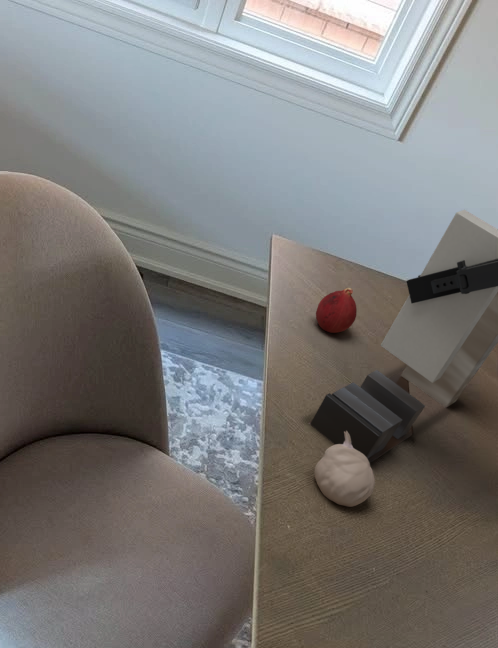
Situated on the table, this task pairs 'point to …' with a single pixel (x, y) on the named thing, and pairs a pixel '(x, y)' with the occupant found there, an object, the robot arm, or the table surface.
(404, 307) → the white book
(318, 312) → the red pomegranate
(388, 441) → the book rack
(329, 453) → the garlic bulb
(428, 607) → the table surface
